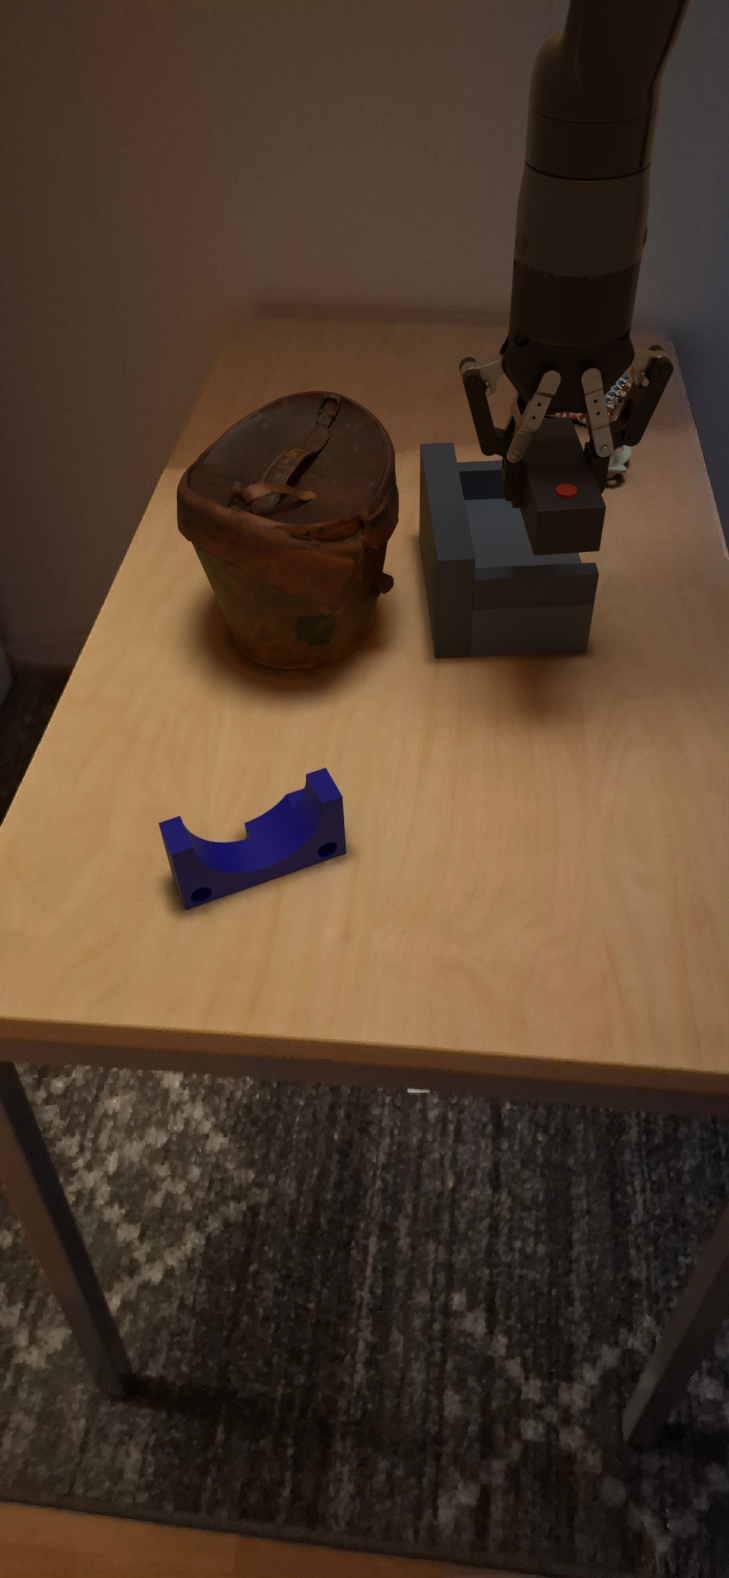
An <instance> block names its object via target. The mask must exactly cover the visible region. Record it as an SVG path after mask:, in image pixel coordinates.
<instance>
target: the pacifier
mask: <svg viewBox="0 0 729 1578" xmlns="http://www.w3.org/2000/svg"><path fill="white" fill-rule="evenodd" d="M617 416H618V414H617V415H616V417H615V418H614V421H615V420H616V419H617ZM619 449H621V450H622V451H621V452H617V450H619ZM583 450H584V448H583ZM631 455H632V447H629V446H626V445H624V446H621V447H619V448H617V449H615V450H614V451H613V452H612V454H611V456H610V461H609V468H608V474H607V480H609V479H612V478H614V477H615V476H616V474H625V473H626V472H627V471H628V468H627V467H626V466H625V464H627V462H628V461H629V459H630V457H631Z"/></svg>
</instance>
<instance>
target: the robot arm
mask: <svg viewBox="0 0 729 1578" xmlns="http://www.w3.org/2000/svg"><path fill="white" fill-rule="evenodd" d="M691 3H692V0H569V2H568V7H567V12H566V17H565V21H564V26H563V29H559V30H557V31H556V32H554V33H552V34H551V35H549V36H548V37H547V38H546V39H545V40H544V41H543V42H542V43H541V45H540V47H538V50H537V52H536V54H535V58H534V61H533V66H532V72H531V78H530V85H529V93H528V94H529V95H528V106H527V119H526V120H527V121H526V135H525V149H524V158H525V159H524V162H523V170H522V177H521V182H520V187H519V193H518V198H517V205H516V216H515V217H516V219H515V233H514V247H513V248H514V249H513V264H512V280H511V294H510V295H511V296H510V309H509V323H508V324H509V325H508V332H507V336H506V337H505V340H504V342H503V343H502V345H501V347H500V349H499V351H498V352H499V353H498V354H494V355H492V356H489V357H485V358H482V359H480V360H477V359H475V358H474V357H472V356H466V357H463V359H462V360H460V362H459V365H458V368H459V372H460V377H461V380H462V381H461V382H462V385H463V387H464V392H465V395H466V399H467V403H468V406H469V410H470V414H471V419H472V421H473V425H474V429H475V433H476V437H477V441H478V444H479V448H480V452H481V453H482V455H483V456H486V457H493V456H494V455H496V456H499V457H501V460H502V469H501V488H502V492H503V495H504V498H505V500H506V501H510V502H511V505H512V508H522V505H523V494H524V482H525V472H526V468H527V461H526V458H525V453H526V451H527V448H528V446H529V444H530V441H531V439H532V436H533V435H534V434H536V433H537V431H538V429H539V427H540V424H541V422H542V420H543V419H544V418H545V415H553V414H557V413H560V412H563V411H565V412H571V413H584V415H585V420H586V424H587V425H586V428H587V434H588V437H589V440H588V441H585V442H584V447H583V449H584V453H585V455H586V458H587V460H588V463H589V465H590V467H591V470H592V472H593V475H594V477H595V480H596V482H597V485H598V487H599V490H600V492H601V495H602V496H603V493H604V491H605V490H606V487H607V480H608V479H607V474H608V468H609V461H610V456H611V454H612V452H613V451H614V450H615V449H617V448H619V447H621V446H624V445H626V446H629V447H631V448H632V447H636V446H637V445H639V443H640V442H641V440H642V439H643V436H644V434H645V432H646V430H647V427H648V426H649V424H650V422H651V419H652V417H653V416H654V413H655V411H656V409H657V406H658V404H659V402H660V400H661V398H662V396H663V394H664V392H665V390H666V388H667V385H668V383H669V381H670V379H671V377H672V375H673V373H674V365H673V363H672V361H671V360H670V358H669V356H668V355H667V353H666V351H665V349H664V348H663V346H661V345H660V344H654V345H651V346H650V347H648V348H645V347H644V348H643V347H638V346H636V345H635V346H634V344H633V341H632V338H631V328H632V324H633V318H634V317H633V316H634V312H635V311H634V310H635V304H636V297H637V291H638V284H639V277H640V273H641V265H642V259H643V253H644V247H645V244H646V243H647V238H648V230H649V228H648V220H649V211H650V209H649V208H650V200H651V171H652V158H653V154H654V153H653V152H654V145H655V140H656V132H657V127H658V119H659V113H660V106H661V98H662V92H663V91H662V90H663V82H664V81H663V80H664V75H665V72H666V69H667V67H668V64H669V62H670V59H671V57H672V54H673V51H674V50H675V47H676V44H677V42H678V39H679V38H680V37H679V36H680V34H681V32H682V29H683V26H684V23H685V20H686V16H687V14H688V12H689V8H690V6H691ZM630 367H631V368H630ZM629 368H630V377H631V379H632V382H631V387H630V389H628V392H627V395H626V397H625V398H624V401H623V404H621V407H620V410H619V411H618V414H617V415H618V416H617V415H616V417H617V419H616V418H615V419H616V420H615V419H614V420H612V421H610V418H609V416H608V413H609V412H608V411H607V406H606V401H605V395H606V393H607V392H608V391H609V390H610V389H611V388H612V386H613V385H614V384H615V383H616V382H617V381H618V379H619V378H620V377H621V378H622V377H623V375H624V374H625V373H626V371H627V370H628V369H629ZM503 374H504V375H505V377H506V378H507V379H508V381H509V382H510V384H511V385H512V386H513V388H514V389H515V391H516V392H515V394H514V397H513V400H512V403H511V408H510V414H509V416H508V419H507V422H506V423H505V424H506V425H505V426H504V429H503V428H500V427H497V426H495V424H494V422H493V418H492V413H491V409H490V406H489V401H488V397H491V396H492V395H493V394H495V392H496V390H497V382H498V379H499V377H500V376H502V375H503ZM619 449H620V448H619ZM617 450H618V449H617Z"/></svg>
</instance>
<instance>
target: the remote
mask: <svg viewBox="0 0 729 1578" xmlns="http://www.w3.org/2000/svg"><path fill="white" fill-rule="evenodd" d="M583 449H584V447H583V445H582V442H581V440H580V438H579V435H578V433H577V430H576V428H575V425H574V422H573V419H571V417H564V418H553V417H550V418H549V417H548V418H543V420H542V422H541V424H540V427H539V429H538V431H537V433H536V434H534V435H533V436H532V439H531V441H530V444H529V446H528V448H527V451H526V453H525V458H526V461H527V468H526V472H525V482H524V494H523V505H522V508H520V511H521V514H522V518H523V521H524V524H525V528H526V531H527V535H528V538H529V541H530V545H531V548H532V551H533V555H534V556H537V555H552V554H567V553H579V554H580V553H581V554H582V553H596V552H600V550H601V544H602V537H603V531H604V523H605V517H606V511H607V506H606V505H607V504H606V502H605V500H604V497H603V494H602V495H601V492H600V490H599V487H598V485H597V482H596V480H595V477H594V475H593V472H592V470H591V467H590V465H589V463H588V460H587V458H586V455H585V453H584V450H583Z"/></svg>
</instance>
